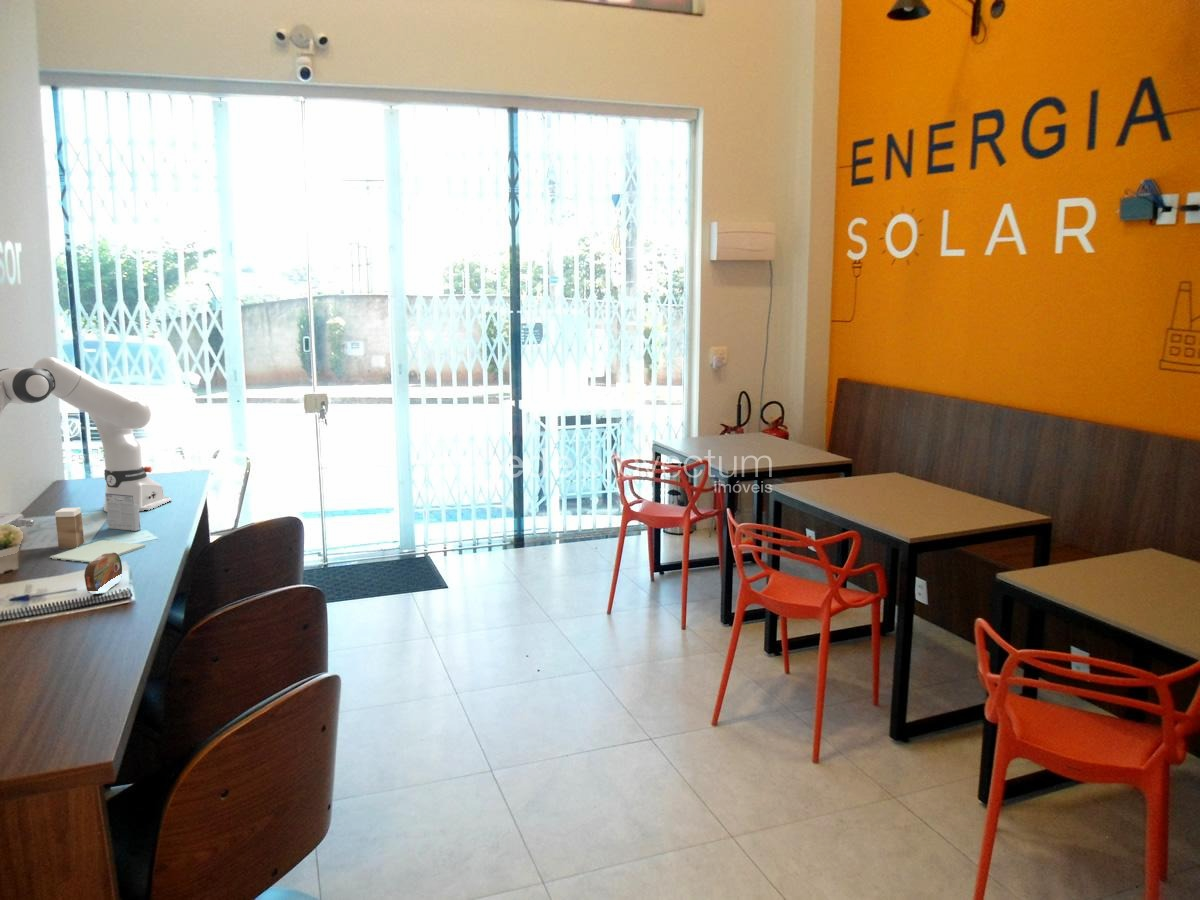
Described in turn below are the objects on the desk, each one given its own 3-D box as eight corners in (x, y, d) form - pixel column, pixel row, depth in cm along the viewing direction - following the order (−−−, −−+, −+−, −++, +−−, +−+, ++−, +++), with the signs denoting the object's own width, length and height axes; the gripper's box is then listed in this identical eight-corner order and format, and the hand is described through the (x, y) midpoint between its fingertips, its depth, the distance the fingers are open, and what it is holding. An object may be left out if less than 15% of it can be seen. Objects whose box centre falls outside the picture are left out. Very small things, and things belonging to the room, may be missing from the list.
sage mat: (101, 541, 268) (101, 540, 268) (145, 546, 263) (145, 544, 263) (49, 558, 251) (49, 556, 251) (95, 563, 246) (95, 561, 246)
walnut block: (66, 543, 266) (62, 507, 264) (84, 543, 266) (80, 507, 264) (58, 548, 261) (55, 512, 259) (77, 548, 261) (73, 511, 260)
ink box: (141, 530, 282) (138, 494, 280) (135, 531, 280) (132, 495, 278) (113, 526, 285) (110, 491, 283) (107, 528, 283) (104, 493, 281)
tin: (97, 599, 219) (94, 566, 217) (83, 599, 219) (80, 566, 217) (124, 579, 234) (121, 548, 232) (111, 579, 233) (109, 548, 232)
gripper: (-48, 527, 248) (7, 526, 250) (-10, 509, 268) (40, 508, 270) (-45, 549, 249) (9, 547, 251) (-8, 530, 269) (42, 528, 271)
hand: (25, 527), depth 261 cm, fingers open, 8 cm apart
